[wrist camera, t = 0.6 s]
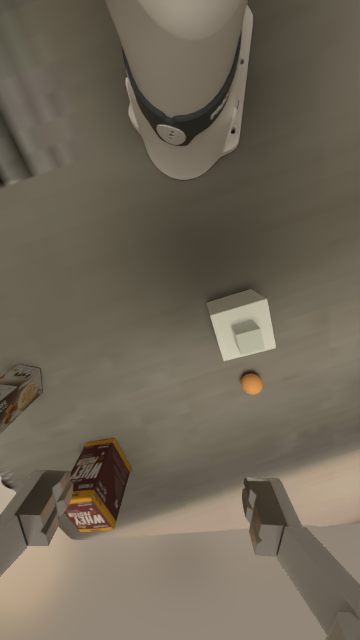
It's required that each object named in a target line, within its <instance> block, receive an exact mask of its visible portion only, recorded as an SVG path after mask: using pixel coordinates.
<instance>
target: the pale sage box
mask: <svg viewBox="0 0 360 640" xmlns="http://www.w3.org/2000/svg"><path fill="white" fill-rule="evenodd" d="M206 304H207V307H208V311H209V314H210V317H211V321H212V324H213V327H214V331H215V334H216V337H217V341H218V344H219V347H220V350H221V354H222V357H223V360H224V361H226V360H230V359H234V358H238V357H242V356H246V355H250V354H254V353H258V352H262V351H266V350H270V349H274V348H276V345H275V340H274V334H273V329H272V323H271V318H270V312H269V307H268V301H267V298H265V297H263V296H262V295H260V294H259V293H257V292H255V291H254V290H252V289H249V290H246V291H242V292H239V293H236V294H233V295H230V296H226V297H223V298H220V299H217V300H213V301H210V302H207V303H206Z"/></svg>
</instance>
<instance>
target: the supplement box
mask: <svg viewBox="0 0 360 640" xmlns="http://www.w3.org/2000/svg"><path fill="white" fill-rule="evenodd" d="M130 470H131V467H130V465H129V463H128V461H127V460H126V458H125V456H124V454H123V452H122V451H121V449H120V447H119V445H118V443H117V442H116V440H115V438H112V439H106V440H100V441H94V442H87V443H86V445H85V447H84V449H83V451H82V453H81V455H80V456H79V458H78V460H77V462H76V464H75V466H74V468H73V470H72V471H71V478H70V479H69V480H70V481H71V482H72V483H73V494H72V497H71V500H70V503H69V505H68V507H67V509H66V511H65V512H64V513H65V514H66V516H67V517H68V518H69V519H70V520H71V521H72V523H73V524H74V525H75V526H76V527H77V528H78V529H79V531H80V532H90V531H104V530H114V527H115V524H116V520H117V516H118V513H119V509H120V506H121V502H122V498H123V495H124V491H125V487H126V484H127V480H128V477H129V473H130Z"/></svg>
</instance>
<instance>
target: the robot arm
mask: <svg viewBox="0 0 360 640" xmlns="http://www.w3.org/2000/svg"><path fill="white" fill-rule="evenodd" d="M105 2H106V4H107V7H108V9H109V12H110V14H111V17H112V20H113V22H114V25H115V27H116V30H117V33H118V36H119V38H120V41H121V44H122V50H123V57H124V62H125V67H126V72H127V76H128V77H126V88H127V92H128V95H129V99H130V105H129V110H128V113H129V117H130V121H131V123H132V124H133V126H134V127H135V129H136V130H137V131H138V132H139V133H140V135H141V137H142V139H143V141H144V144H145V147H146V150H147V152H148V155H149V157H150V158H151V160H152V162H153V163H154V164H155V166H156V167H157V168H158V169H159V170H160V171H161V172H163V173H164V174H166V175H167V176H169V177H172V178H175V179H179V180H188V179H193V178H196V177H198V176H200V175H202V174H204V173H205V172H206V171H208V170H209V169H210V168H211V167H212V166H213V165H214V163H215V162H216V161H217V160H218V159H219V158H220V157H222V156H224V155H226V154H229V153H230V152H232V151H234V150H235V149H236V148H237V146H238V143H239V138H240V129H241V121H242V112H243V104H244V95H245V87H246V78H247V70H248V61H249V53H250V44H251V36H252V27H253V14H252V12H251V10H250V8H249V7H248V5H247V2H248V0H105ZM231 130H234V131H235V133H234V134H231ZM70 478H71V473H70V471H57V470H35V471H34V472H33V473H32V474H31V475H30V476H29V478H28V479H27V480H26V481H25V483H24V484H23V485H22V487H21V488H20V489H19V491H18V492H17V493H16V495H15V496H14V498H13V499H12V500H11V501H10V503H9V504H8V505H7V507H6V508H5V510H4V511H3V512H2V513H1V515H0V576H1V575H2V574H3V573H4V572H5V571H6V570H7V569H8V568H9V567H10V566H11V564H12V563H13V562H14V561H15V560H16V559H17V558H18V557H19V556H20V555H21V554H22V552H23V551H24V550H25V549H26V548H27V546H48V545H49V544H50V542H51V539H52V538H53V536H54V533H55V532H56V530H57V528H58V526H59V516H60V515H61V514H63V513H64V512H65V511H66V509H67V507H68V505H69V503H70V500H71V497H72V494H73V483H72V482H71V481H70V480H69V479H70ZM244 485H245V488H244V489H243V492H242V501H243V508H244V513H245V517H246V519H247V520H248V521H249V522H250V530H249V533H250V536H251V541H252V544H253V549H254V552H255V555H261V556H274V557H277V559H278V561H279V563H280V564H281V565H282V567H283V569H284V570H285V572H286V573H287V575H288V576H289V578H290V579H291V581H292V582H293V584H294V585H295V587H296V588H297V590H298V591H299V593H300V594H301V596H302V597H303V599H304V600H305V602H306V603H307V605H308V606H309V608H310V610H311V611H312V613H313V614H314V616H315V617H316V619H317V620H318V622H319V623H320V625H321V626H322V628H323V629H324V631H325V632H326V634H327V637H326V639H325V640H360V585H359V583H358V582H357V581H356V580H355V579H354V578H353V577H352V576H351V575H350V574H349V573H348V572H347V571H346V569H345V568H344V567H343V566H342V565H341V564H340V563H339V562H338V561H337V560H336V559H335V558H334V557H333V556H332V555H331V553H330V552H329V551H328V550H327V549H326V548H325V547H324V546H323V545H322V544H321V543H320V542H319V541H318V540H317V538H316V537H314V535H313V534H312V533H311V532H310V531H309V530H308V529H307V528H305V527H302V525H301V523H300V521H299V519H298V516H297V514H296V512H295V510H294V508H293V506H292V503H291V501H290V499H289V497H288V495H287V493H286V491H285V488H284V486H283V484H282V482H281V481H280V479H278V478H255V477H246V478H245V479H244Z"/></svg>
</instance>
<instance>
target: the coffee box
mask: <svg viewBox="0 0 360 640" xmlns="http://www.w3.org/2000/svg"><path fill="white" fill-rule="evenodd" d="M41 393H42V382H41V372H40V368H35V367H30V366H25V365H18V366H16V367H15V368H13V369H12V370H10V371H9V372H7V373H6V374H4V375H3V376H1V377H0V434H1V433H2V432H3V431H4V430H5V429H6V428H7V427H8V426H9V425H10V424H11V423H12V422H13V421H14V420H15V419H16V418H17V417H18V416H19V415H20V414H21V413H22V412H23V411H24V410H25V409H26V408H27V407H28V406H29V405H30V404H31V403H32V402H33V401H34V400H35V399H36V398H37V397H38V396H39V395H40V394H41Z"/></svg>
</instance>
